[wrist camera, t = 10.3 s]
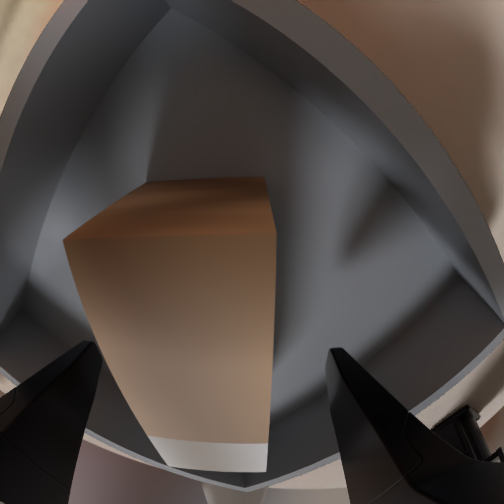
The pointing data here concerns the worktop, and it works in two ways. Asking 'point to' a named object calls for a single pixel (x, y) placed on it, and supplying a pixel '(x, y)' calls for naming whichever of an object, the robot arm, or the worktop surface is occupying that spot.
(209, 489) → the flask
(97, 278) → the tan rectangular block
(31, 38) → the worktop surface
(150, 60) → the bin
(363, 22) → the worktop surface
